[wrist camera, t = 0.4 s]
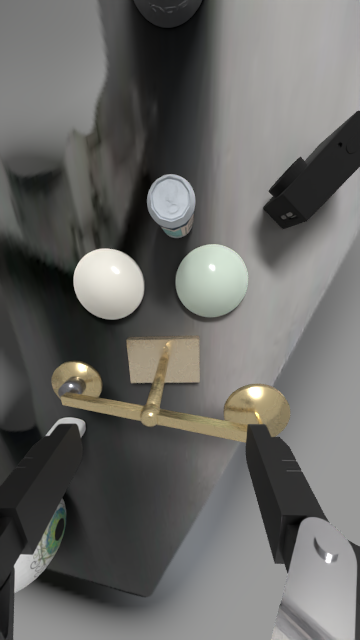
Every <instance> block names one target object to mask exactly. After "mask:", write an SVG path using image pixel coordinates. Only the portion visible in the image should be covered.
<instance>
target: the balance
mask: <svg viewBox="0 0 360 640" xmlns="http://www.w3.org/2000/svg"><path fill="white" fill-rule="evenodd" d="M126 341H127V351H128V360H129V369H130V379H131V383H152V387H151V390H150V393H149V397H148V400H147V404H146V405H145V406H141V405H136V404H130V403H125V402H119V401H114V400H108V399H103V398H98V397H99V395H100V394H101V391H102V386H103V384H102V379H101V377H100V375H99V373H98V372H97V370H96V369H95V368H93V367H92V366H91V365H89V364H87V363H85V362H82V361H68V362H65V363H63V364H62V365H60V366H59V367H58V368H57V369H56V370H55V371H54V373H53V376H52V386H53V389H54V391H55V393H56V394H57V396H58V397H59V398H60V399H61V401H62V405H66V406H71V407H76V408H81V409H85V410H90V411H95V412H100V413H105V414H110V415H114V416H119V417H124V418H129V419H134V420H139V421H141V422H142V424H143V425H145V426H147V427H153V426H155V425H157V424H158V425H163V426H168V427H173V428H177V429H182V430H187V431H192V432H197V433H202V434H207V435H211V436H216V437H221V438H226V439H231V440H236V441H241V442H245V443H246V438H247V426H248V424H265V425H266V426H267V428H268V430H269V433H270V435H271V437H275V436H277V435H278V434H279V433H280V432H282V431H283V429H284V428H285V427H286V425H287V424H288V421H289V419H290V407H289V404H288V402H287V400H286V399H285V397H284V396H283V395H282V393H281V392H280V391H278V390H277V389H275V388H274V387H271V386H269V385H265V384H250V385H246V386H243V387H241V388H239V389H237V390H236V391H235V392H233V393H232V394H231V395H230V396H229V398H228V399H227V401H226V403H225V406H224V419H225V421H223V420H218V419H212V418H207V417H201V416H196V415H191V414H185V413H180V412H174V411H169V410H163V409H160V408H159V407H160V402H161V397H162V392H163V387H164V383H181V382H200V373H199V336H156V337H128V339H127V340H126Z"/></svg>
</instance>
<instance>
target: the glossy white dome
mask: <svg viewBox="0 0 360 640" xmlns="http://www.w3.org/2000/svg"><path fill="white" fill-rule="evenodd" d="M74 289H75V292H76V295H77V297H78V299H79V301H80V302H81V304H82V305H83V306H84V307H85V308H86V309H87V310H88V311H89V312H90V313H92V314H94V315H95V316H98V317H100V318H103V319H111V320H113V319H120V318H123V317H126V316H127V315H129V314H131V313H132V312H133V311H134V310H135V309H136V308H137V307H138V306H139V305H140V303H141V301H142V299H143V296H144V292H145V281H144V277H143V273H142V271H141V269H140V267H139V266H138V264H137V263H136V262H135V261H134V260H133V259H132V258H131V257H130V256H128V255H127V254H125V253H123V252H121V251H118V250H114V249H97V250H94V251H92V252H90V253H88V254H86V255H85V256H84V257H83V258H82V259H81V260H80V262H79V263H78V265H77V267H76V269H75V273H74Z"/></svg>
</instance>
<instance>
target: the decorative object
mask: <svg viewBox="0 0 360 640" xmlns="http://www.w3.org/2000/svg"><path fill="white" fill-rule="evenodd" d="M65 526H66V508H65V503H64V500H63V498H62V499H61V501H60V503H59V505H58V507H57V509H56V511H55V513H54V515H53V517H52V519H51V521H50V523H49V525H48V527H47V528H46V530H45V532H44V534H43V536H42V538H41V540H40V542H39V544H38V546H37V548H36V550H35V552H34V554H33V555H24V554H20V556H19V558H18V560H17V561H16V563H15V565H14V568H15V585H14V593H15V592H17V591H19V590H21V589H23V588H25V587H26V586H27V585H28V584H30V583H31V582H32V581H33V580H35V579H36V578H37V577H38V576H39V575H40V574H41V573H42V572H43V571H44V570H45V568H46V567H47V565H48V564H49V563H50V561H51V560H52V558H53V557H54V555H55V553H56V552H57V550H58V548H59V546H60V543H61V540H62V538H63V535H64V531H65Z"/></svg>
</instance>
